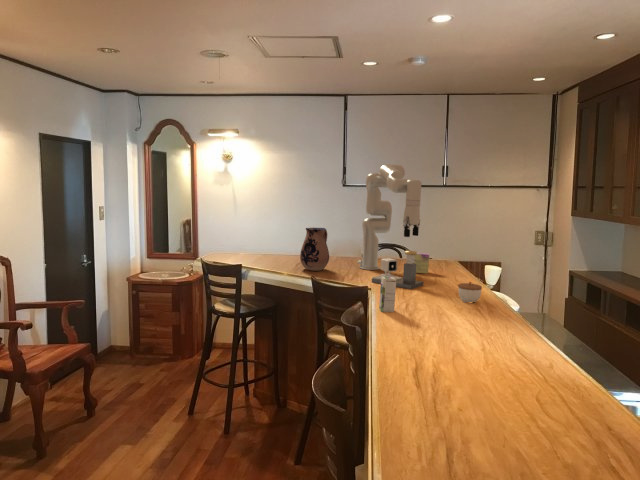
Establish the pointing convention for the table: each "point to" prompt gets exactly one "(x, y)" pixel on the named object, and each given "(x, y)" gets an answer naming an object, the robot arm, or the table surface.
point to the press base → (404, 278)
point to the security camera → (388, 266)
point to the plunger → (410, 256)
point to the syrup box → (387, 294)
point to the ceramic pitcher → (315, 249)
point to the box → (421, 262)
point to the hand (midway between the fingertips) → (411, 236)
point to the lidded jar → (469, 292)
